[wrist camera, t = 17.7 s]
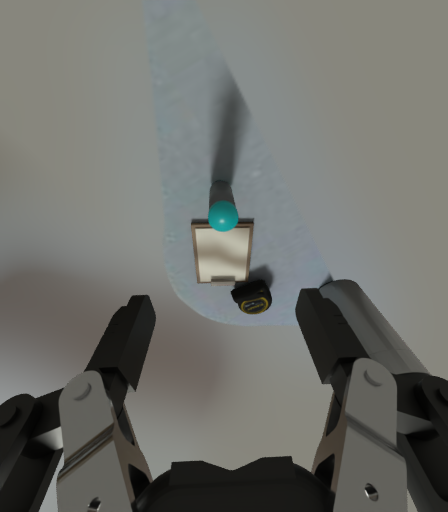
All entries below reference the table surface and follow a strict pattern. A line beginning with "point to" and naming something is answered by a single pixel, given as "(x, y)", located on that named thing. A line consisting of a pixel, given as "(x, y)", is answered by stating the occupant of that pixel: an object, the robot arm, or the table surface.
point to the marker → (222, 207)
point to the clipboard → (222, 253)
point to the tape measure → (253, 297)
